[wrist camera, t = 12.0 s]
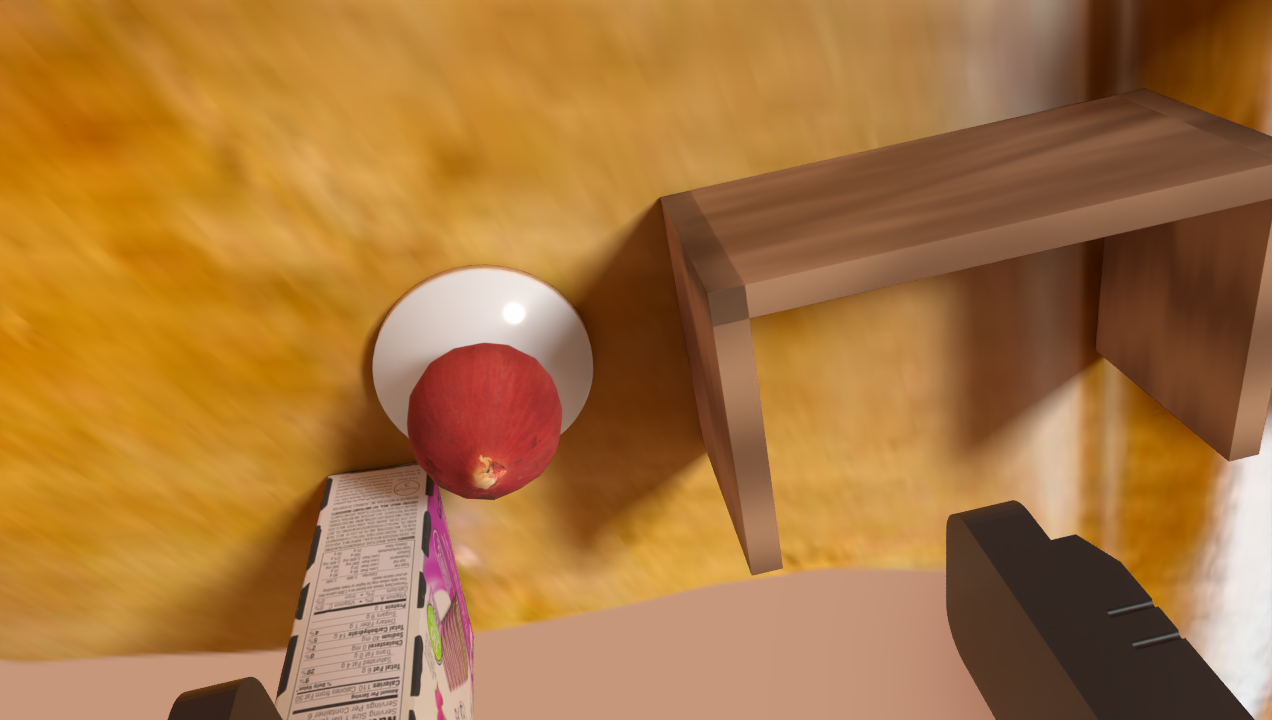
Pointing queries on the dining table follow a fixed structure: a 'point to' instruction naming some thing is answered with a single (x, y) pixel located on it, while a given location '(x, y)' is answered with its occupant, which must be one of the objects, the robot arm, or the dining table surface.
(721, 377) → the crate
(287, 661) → the candy bar box
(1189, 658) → the robot arm
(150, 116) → the dining table surface
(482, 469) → the onion
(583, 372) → the coaster
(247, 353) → the dining table surface
